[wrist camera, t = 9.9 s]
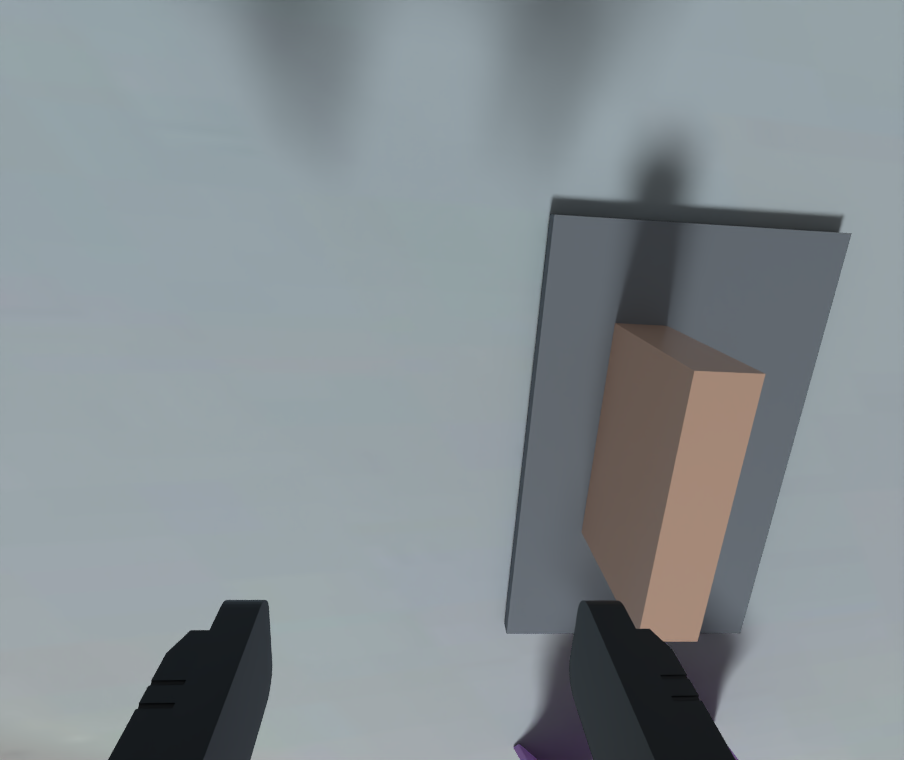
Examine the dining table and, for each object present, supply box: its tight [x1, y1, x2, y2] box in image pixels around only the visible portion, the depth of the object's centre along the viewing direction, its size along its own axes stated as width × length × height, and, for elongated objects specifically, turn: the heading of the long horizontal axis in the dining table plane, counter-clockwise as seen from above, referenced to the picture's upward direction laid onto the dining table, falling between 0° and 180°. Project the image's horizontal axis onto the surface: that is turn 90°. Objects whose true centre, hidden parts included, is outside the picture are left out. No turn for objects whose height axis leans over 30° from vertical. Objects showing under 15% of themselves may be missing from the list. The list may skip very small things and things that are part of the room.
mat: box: [505, 214, 851, 634], centre depth 22 cm, size 18×11×1 cm, turn 176°
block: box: [582, 323, 765, 642], centre depth 19 cm, size 9×2×6 cm, turn 176°
